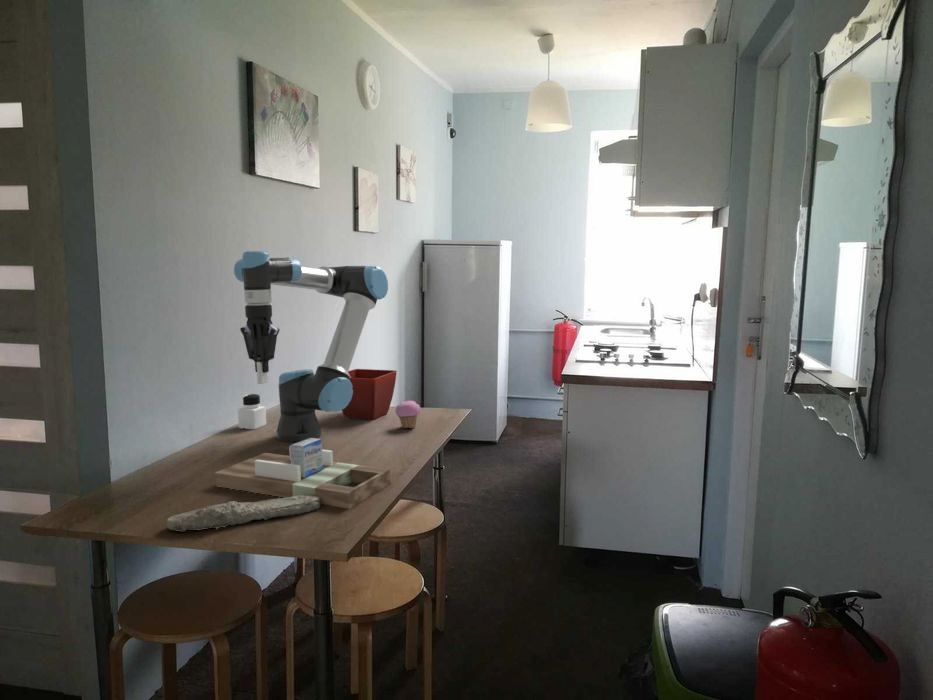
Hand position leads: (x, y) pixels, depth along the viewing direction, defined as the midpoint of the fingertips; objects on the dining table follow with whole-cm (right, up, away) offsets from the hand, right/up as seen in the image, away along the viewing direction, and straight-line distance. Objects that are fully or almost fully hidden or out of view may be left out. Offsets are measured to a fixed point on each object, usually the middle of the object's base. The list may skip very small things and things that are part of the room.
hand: (262, 383), depth 199 cm
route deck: (+17, -27, -18) cm, 36 cm away
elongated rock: (+9, -31, -40) cm, 51 cm away
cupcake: (+40, -19, +42) cm, 61 cm away
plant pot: (+21, -16, +62) cm, 68 cm away
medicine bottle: (-18, -19, +47) cm, 54 cm away
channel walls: (+14, -23, -17) cm, 32 cm away
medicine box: (+18, -23, -20) cm, 36 cm away
